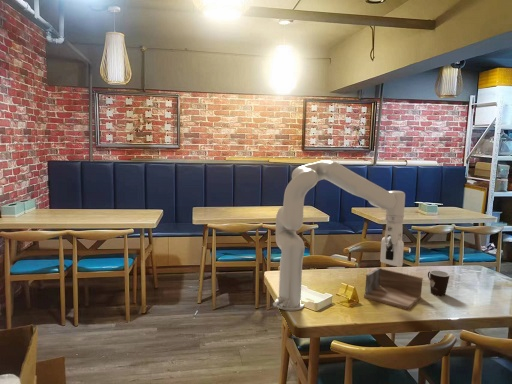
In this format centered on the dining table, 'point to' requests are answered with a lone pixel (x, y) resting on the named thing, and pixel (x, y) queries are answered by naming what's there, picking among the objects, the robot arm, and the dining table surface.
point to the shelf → (393, 288)
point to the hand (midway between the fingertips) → (391, 257)
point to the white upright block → (397, 253)
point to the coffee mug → (438, 282)
